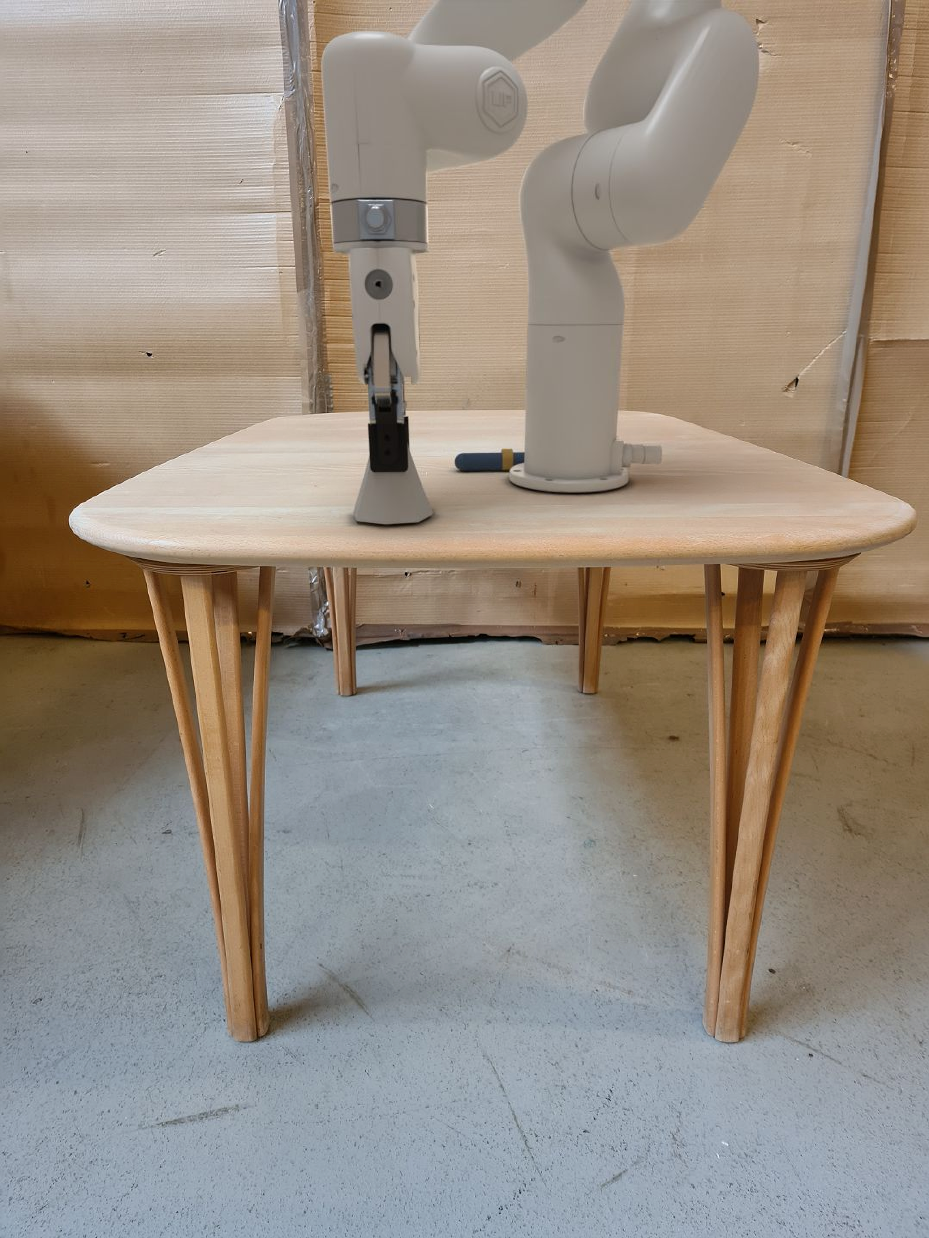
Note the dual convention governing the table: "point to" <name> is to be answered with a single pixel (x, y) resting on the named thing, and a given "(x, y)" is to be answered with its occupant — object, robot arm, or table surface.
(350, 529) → the table surface
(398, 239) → the robot arm
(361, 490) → the flask
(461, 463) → the dark blue marker
